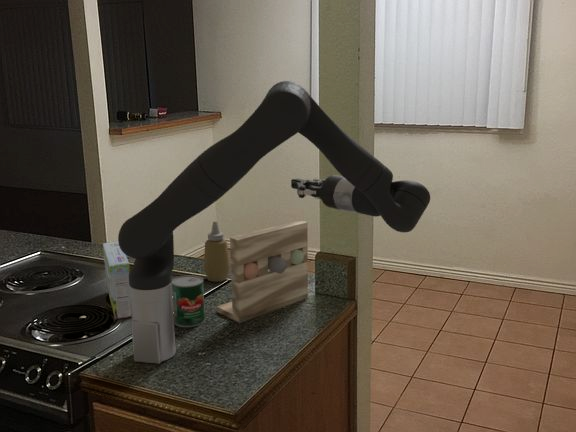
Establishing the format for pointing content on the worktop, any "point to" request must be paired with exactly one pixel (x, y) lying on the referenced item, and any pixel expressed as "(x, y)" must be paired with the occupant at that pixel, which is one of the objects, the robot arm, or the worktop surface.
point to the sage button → (297, 257)
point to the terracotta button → (250, 270)
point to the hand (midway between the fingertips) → (293, 183)
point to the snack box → (117, 279)
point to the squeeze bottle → (216, 256)
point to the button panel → (267, 271)
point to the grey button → (277, 264)
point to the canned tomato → (188, 301)
